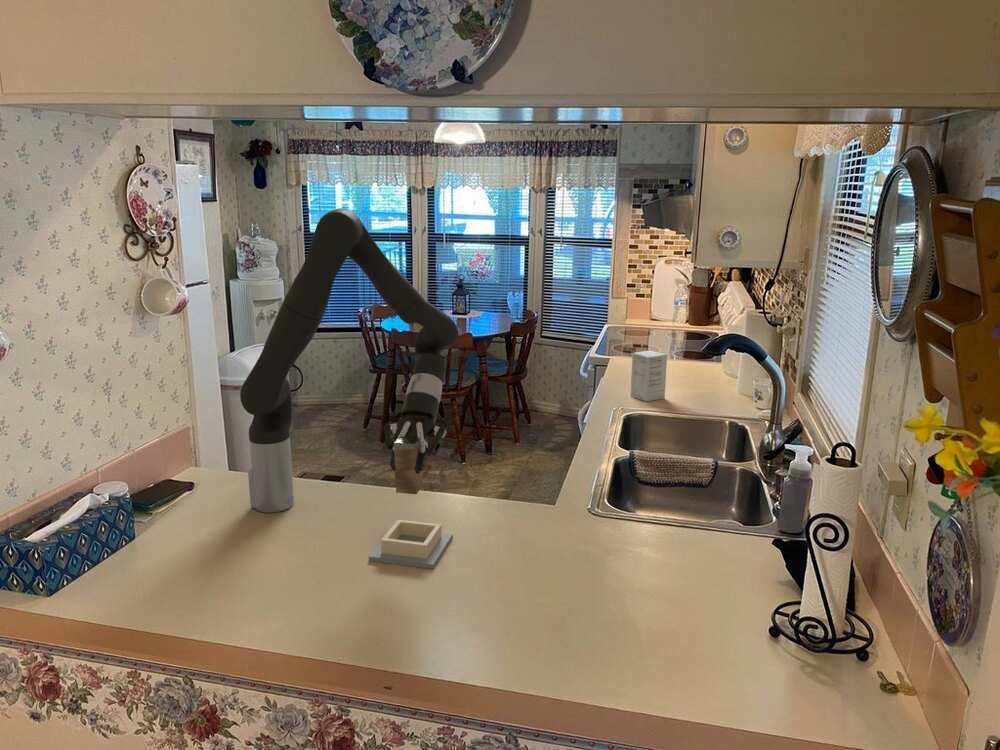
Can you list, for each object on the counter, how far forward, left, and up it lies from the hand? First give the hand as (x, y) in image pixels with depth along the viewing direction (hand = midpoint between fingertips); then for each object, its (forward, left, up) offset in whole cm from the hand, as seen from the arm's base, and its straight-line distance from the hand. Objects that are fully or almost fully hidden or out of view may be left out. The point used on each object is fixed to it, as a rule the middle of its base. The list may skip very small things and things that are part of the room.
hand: (405, 470), depth 151 cm
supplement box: (+45, +136, -19) cm, 144 cm away
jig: (0, +2, -19) cm, 19 cm away
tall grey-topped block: (0, +2, -5) cm, 5 cm away
